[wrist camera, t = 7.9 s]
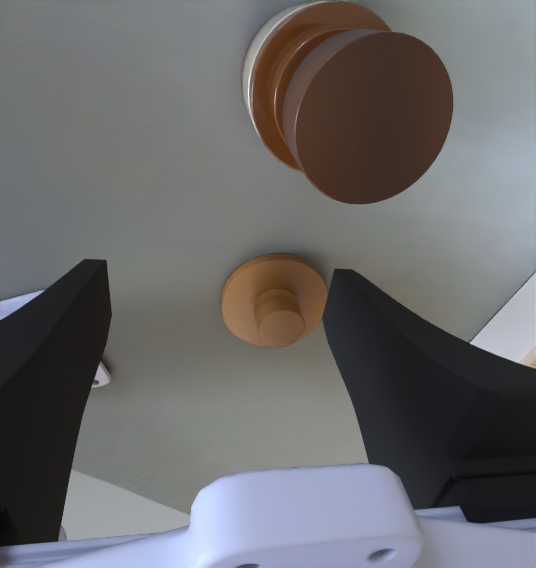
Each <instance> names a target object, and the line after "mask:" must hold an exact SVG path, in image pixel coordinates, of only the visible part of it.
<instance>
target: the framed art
mask: <svg viewBox="0 0 536 568" xmlns="http://www.w3.org/2000/svg"><path fill="white" fill-rule="evenodd" d="M470 344H472V345H474V346H477V347H479V348H481V349H483V350H486V351H488V352H491V353H493V354H496V355H498V356H501V357H503V358H506V359H509V360H512V361H514V362H517V363H520V364H523V365H526V366H529V367H532V368H535V369H536V272H535V274H534V275H533V276H532V277H531V278H530V279H529V280H528V281H527V282H526V283H525V284H524V285H523V286H522V287H521V289H520V290H519V291H518V292H517V293H516V294H515V295H514V296H513V297H512V298H511V299H510V300H509V301H508V302H507V303H506V305H505V306H504V307H503V308H502V309H501V310H500V311H499V312H498V313H497V314H496V315H495V316H494V317H493V318H492V320H491V321H490V322H489V323H488V324H487V325H486V326H485V327H484V328H483V329H482V330H481V331H480V332H479V333H478V335H477V336H476V337H475V338H474V339H473V340H472V341H471V342H470Z"/></svg>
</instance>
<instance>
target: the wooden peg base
mask: <svg viewBox="0 0 536 568" xmlns="http://www.w3.org/2000/svg"><path fill="white" fill-rule="evenodd" d="M327 296H328V290H327V286H326V284H325V282H324V280H323V277H322V275H321V274H320V272H319V271H318V270H317V269H316V267H315V266H313V265H312V264H311V263H310V262H308V261H306V260H305V259H302V258H300V257H298V256H294V255H290V254H278V253H277V254H268V255H263V256H260V257H257V258H254V259H252V260H250V261H248V262H246V263H244V264H243V265H241V266H240V267H239V268H238V269H236V270H235V271H234V272H233V273H232V275H231V276H230V277H229V278H228V280H227V282H226V283H225V285H224V288H223V290H222V295H221V311H222V317H223V320H224V322H225V324H226V326H227V327H228V329H229V330H230V331H231V332H232V333H233V334H234V335H235V336H236V337H238V338H239V339H241V340H243V341H245V342H247V343H250V344H253V345H258V346H274V347H283V346H287V345H290V344H292V343H294V342H296V341H297V340H298V339H300V338H302V337H304V336H305V335H307V334H308V333H310V332H311V331H312V330H313V329H314V328H315V327H316V326H317V325H318V324H319V322H320V321H321V320H322V316H323V312H324V308H325V304H326V300H327Z"/></svg>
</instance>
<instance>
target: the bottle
mask: <svg viewBox="0 0 536 568" xmlns="http://www.w3.org/2000/svg"><path fill="white" fill-rule="evenodd" d="M354 29H372V30H381V31H390V32H392V31H391V29H390V28H389V26H388V25H387V24H386V23H385V22H384V21H383V20H382V19H381V18H380V17H379V16H377V15H376V14H375V13H373V12H372V11H370V10H368V9H367V8H365V7H363V6H360V5H357V4H354V3H349V2H342V1H317V2H307V3H302V4H297V5H293V6H290V7H287V8H285V9H283V10H281V11H279V12H277V13H276V14H274V15H273V16H272V17H270V18H269V19H268V20H267V21H266V22H265V23H264V24H263V25H262V26H261V27H260V28H259V30H258V31H257V32H256V33H255V35H254V37H253V38H252V40H251V42H250V44H249V46H248V48H247V51H246V54H245V57H244V60H243V66H242V73H241V87H242V94H243V99H244V103H245V106H246V108H247V112H248V114H249V116H250V119H251V121H252V123H253V125H254V127H255V129H256V131H257V133H258V135H259V136H260V138H261V140H262V141H263V143H264V144H265V146H266V147H267V149H268V150H269V151H270V152H271V154H273V155H274V156H275V157H276V158H277V159H278V160H279V161H280V162H282V163H283V164H285V165H286V166H288V167H290V168H292V169H294V170H297V171H299V172H302V173H303V171H302V170H301V168H300V166H299V165H298V163H297V162H296V160H295V159H294V157H293V155H292V154H291V152H290V150H289V148H288V145H287V143H286V140H285V136H284V131H283V123H282V112H283V104H284V99H285V95H286V91H287V88H288V85H289V83H290V80H291V78H292V76H293V75H294V73H295V71H296V69H297V68H298V66H299V65H300V63H301V62H302V61H303V60H304V58H305V57H306V56H307V55H308V54H309V53H310V52H311V51H312V50H313V49H314V48H315V47H316V46H318V45H319V44H320V43H322V42H323V41H325V40H326V39H328V38H330V37H332V36H334V35H336V34H339V33H342V32H345V31H349V30H354Z"/></svg>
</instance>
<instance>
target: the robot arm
mask: <svg viewBox="0 0 536 568" xmlns="http://www.w3.org/2000/svg"><path fill="white" fill-rule="evenodd" d="M111 316H112V312H111V302H110V292H109V282H108V272H107V262H106V260H94V259H84V260H83V261H81V262H80V263H79V264H78V265H76V266H75V267H74V268H73V269H71V270H70V271H69V272H68V273H66V274H65V275H64V276H63V277H62V278H60V279H59V280H58V281H56V282H55V283H54V284H53V285H51V286H50V287H49V288H47V289H46V290H41V291H37V292H34V293H30V294H26V295H22V296H18V297H15V298H11V299H7V300H3V301H0V568H536V369H535V368H532V367H529V366H526V365H523V364H520V363H517V362H514V361H512V360H509V359H506V358H503V357H501V356H498V355H496V354H493V353H491V352H488V351H486V350H483V349H481V348H479V347H477V346H474V345H472V344H470V343H468V342H466V341H463V340H461V339H459V338H457V337H455V336H453V335H451V334H449V333H448V332H446V331H444V330H442V329H440V328H438V327H437V326H435V325H433V324H431V323H430V322H428V321H426V320H425V319H423V318H421V317H420V316H418V315H417V314H415V313H414V312H412V311H410V310H409V309H407V308H406V307H405V306H403V305H402V304H400V303H399V302H397V301H396V300H394V299H393V298H392V297H390V296H389V295H388V294H386V293H385V292H383V291H382V290H381V289H379V288H378V287H377V286H375V285H374V284H373V283H371V282H370V281H369V280H367V279H366V278H364V277H363V276H362V275H360V274H359V273H357V272H355V271H354V270H352V269H335V270H334V273H333V277H332V281H331V285H330V289H329V293H328V296H327V300H326V304H325V308H324V312H323V316H322V319H323V324H324V328H325V332H326V336H327V340H328V343H329V346H330V349H331V351H332V354H333V356H334V359H335V361H336V364H337V366H338V368H339V371H340V373H341V376H342V378H343V380H344V383H345V385H346V388H347V390H348V393H349V395H350V398H351V401H352V403H353V406H354V409H355V413H356V416H357V420H358V423H359V427H360V430H361V434H362V438H363V442H364V445H365V449H366V453H367V457H368V461H369V464H364V463H359V464H343V465H326V466H310V467H294V468H278V469H262V470H248V471H243V472H239V473H234V474H229V475H225V476H222V477H221V478H219V479H217V480H216V481H214V482H212V483H211V484H209V485H207V486H205V487H204V488H203V489H202V490H201V491H200V492H199V493H198V495H197V497H196V499H195V501H194V503H193V504H192V506H191V522H190V525H188V526H184V527H181V528H177V529H173V530H170V531H166V532H161V533H150V534H139V535H127V536H116V537H105V538H93V539H82V540H71V541H67V538H66V533H65V531H64V528H63V527H62V525H61V522H62V516H63V510H64V505H65V499H66V494H67V488H68V483H69V478H70V473H71V468H72V463H73V458H74V453H75V448H76V443H77V438H78V434H79V429H80V425H81V420H82V416H83V412H84V409H85V405H86V402H87V399H88V396H89V393H90V390H91V388H95V387H98V386H102V385H106V384H108V383H109V382H110V378H111V376H110V374H109V372H108V371H107V369H106V368H105V366H104V365H103V363H102V362H101V358H102V355H103V352H104V349H105V346H106V343H107V338H108V333H109V327H110V322H111ZM95 380H96V381H95Z"/></svg>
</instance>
